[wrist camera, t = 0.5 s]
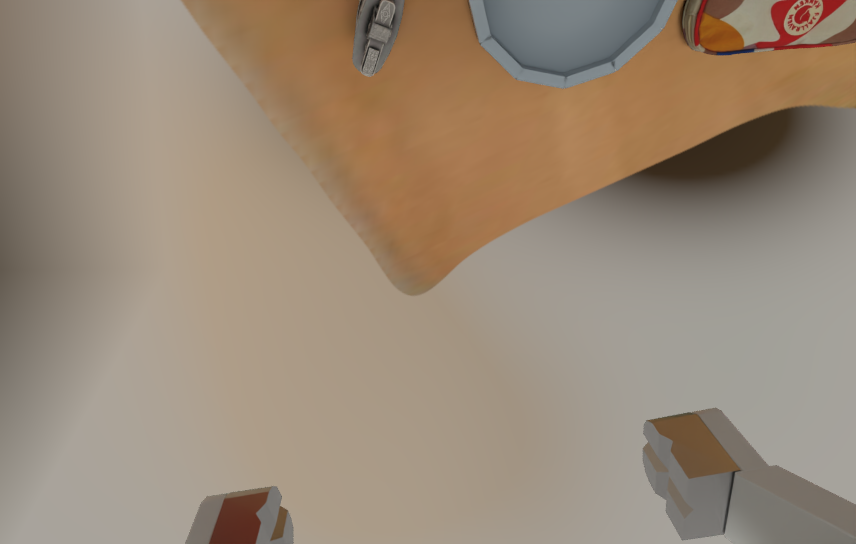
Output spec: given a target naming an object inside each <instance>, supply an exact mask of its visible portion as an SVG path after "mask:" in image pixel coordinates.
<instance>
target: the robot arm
mask: <svg viewBox="0 0 856 544" xmlns="http://www.w3.org/2000/svg"><path fill="white" fill-rule="evenodd" d="M644 435H645V437H646V439H647V440H648V443H647V444H646V445H645V446H644V448H643V463H644V467H645V472H646V474H647V477H648V480H649V482H650V484H651V486H652V488H653V490H654V491H655V493H656V494H658V495H659V496H661V497H663V498H664V499H666V500H667V502H666V513H667V515H668V516H669V518H670V520H671V521H672V523H673V525H674V527H675V528H676V530H677V532H678V534H679V536H680V537H681V539H682V540H688V539H695V538H702V537H709V536H716V535H723V534H725V535H724V536H725V538H727V539H728V540H730V541H731V542H732V543H733V544H856V505H855V504H853V503H851V502H849V501H847V500H845V499H843V498H841V497H839V496H837V495H835V494H833V493H831V492H829V491H827V490H825V489H823V488H821V487H819V486H817V485H815V484H813V483H811V482H809V481H807V480H805V479H803V478H801V477H799V476H797V475H795V474H793V473H791V472H789V471H787V470H785V469H783V468H781V467H779V466H777V465H775V466H768V464H767V463H766V462H765V461H764V460H763V459H762V457H761V456H760V455H759V454H758V453H757V452H756V450H755V449H754V448H753V447H752V446H751V445H750V443H749V442H748V441H747V440H746V439H745V438H744V437H743V435H742V434H741V433H740V432H739V431H738V430H737V428H736V427H735V426H734V425H733V424H732V423H731V421H730V420H729V419H728V418H727V417H726V416H725V415H724V413H723V412H722V411H721V410H719V409H717V408H712V409H706V410H701V411H696V412H692V413H691V412H688V413H683V414H678V415H672V416H667V417H662V418H657V419H651V420H646V422H645V424H644ZM281 499H282V496H281V494H280V492H279V490H278V488H277V487H275V486H272V487H265V488H258V489H252V490H245V491H238V492H231V493H226V494H220V495H213V496H207V497H206V498H205V499H204V500H203V501H202V502H201V504H200V507H199V509H198V512H197V514H196V517H195V519H194V522H193V524H192V527H191V530H190V532H189V535H188V537H187V540H186V542H185V544H293V525H292V520H291V517H290V515H289V512H288V510H286V509H285V508H283V507H281V506H280V503H281Z"/></svg>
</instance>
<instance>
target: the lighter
mask: <svg viewBox="0 0 856 544" xmlns="http://www.w3.org/2000/svg"><path fill="white" fill-rule="evenodd" d="M403 7H404V0H360V1H359V6H358V11H357V18H356V29H355V37H354V48H353V64H354V66H355V67H356V68H357V69H358V70H359V71H360V72H361V73H362V74H363V75H366V76H369V77H370V76H373V75H374V74H375V73H377V72H378V71H379V70H380V69H381V68H382V66H383V64H384V62H385V61H386V59H387V57H388V55H389V54H390V51H391V49H392V46H393V44H394V42H395V39H396V37H397V34H398V30H399V26H400V23H401V19H402V14H403Z"/></svg>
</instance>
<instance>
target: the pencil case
mask: <svg viewBox="0 0 856 544" xmlns="http://www.w3.org/2000/svg"><path fill="white" fill-rule="evenodd" d="M682 25H683V34H684V38H685V41H686V42H687V44H688V45H689V47H690V48H691V49H692V50H695V51H701V52H703V53H706V54H711V55H732V54H739V53H749V52H761V51H774V50H783V49H797V48H814V47H826V46H837V45H843V44H849V43H855V42H856V0H687V1H686V4H685V8H684V12H683V20H682Z"/></svg>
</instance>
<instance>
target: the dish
mask: <svg viewBox="0 0 856 544" xmlns="http://www.w3.org/2000/svg"><path fill="white" fill-rule="evenodd" d="M676 2H677V0H468V3H469V8H470V12H471V16H472V20H473V24H474V28H475V32H476V36H477V38H478V41H479V43H480V45H481V46H482V47H483V48H484V49H485V50H486V51H487V52H488V53H489V54H490V55H491V56H492V57H493V58H494V59H495V60H496V61H497V62H499V63H500V64H501V65H502V66H503V67H504V68H505V69H506V70H507V71H508V72H509V73H510V74H511V75H512V76H513V77H514V78H515V79H517V80H521V81H526V82H531V83H536V84H542V85H547V86H552V87H557V88H563V89H564V88H568V87H571V86H574V85H577V84H581V83H584V82H587V81H590V80H593V79H596V78H599V77H602V76H605V75H608V74H611V73H614V72H616V71H615V69H616V70H617V71H618V70H619V69H620V68H621V67H622V66H623V65H624V64H625V63H626V62H628V61H629V60H630V59H631V58H632V57H633V56H634V55H635V54H636V53H638V52H639V51H640V50H641V49H642V48H643V47H644V46H645V45H646V44H648V43H649V42H650V41H651V40H652V39H653V38H654V37H655V36H656V35H658V34H659V33H660V32H661V31H662V29H664V27H665V24H666V22H667V20H668V18H669V16H670V14H671V12H672V10H673V8H674V6H675V4H676ZM661 28H662V29H661Z"/></svg>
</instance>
